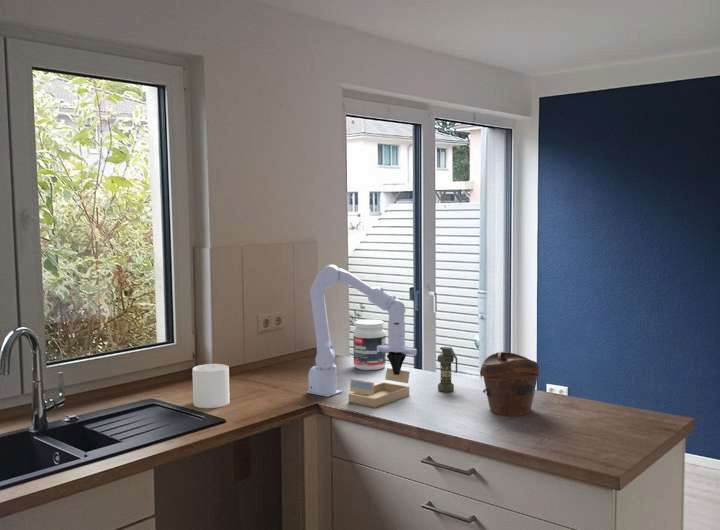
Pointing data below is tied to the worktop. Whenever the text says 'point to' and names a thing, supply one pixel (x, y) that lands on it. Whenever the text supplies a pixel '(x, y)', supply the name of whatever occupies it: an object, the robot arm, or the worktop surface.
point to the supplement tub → (369, 345)
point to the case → (509, 383)
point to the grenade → (446, 369)
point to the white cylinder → (211, 386)
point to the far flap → (397, 376)
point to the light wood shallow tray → (380, 395)
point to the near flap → (362, 387)
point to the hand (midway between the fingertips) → (396, 374)
